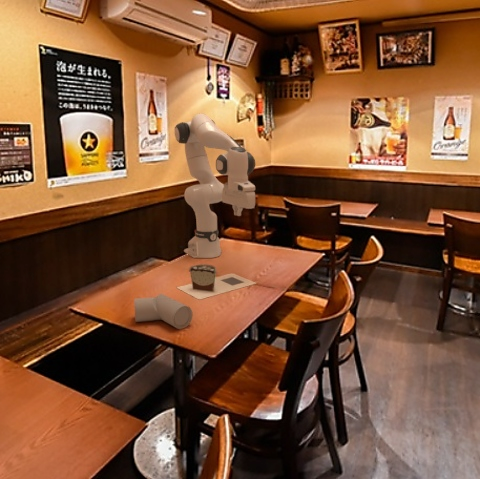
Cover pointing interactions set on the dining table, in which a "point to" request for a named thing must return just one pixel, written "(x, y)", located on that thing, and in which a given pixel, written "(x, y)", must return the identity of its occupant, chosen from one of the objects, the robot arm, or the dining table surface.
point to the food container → (203, 277)
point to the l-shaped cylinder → (163, 311)
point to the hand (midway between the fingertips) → (237, 215)
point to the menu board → (219, 286)
